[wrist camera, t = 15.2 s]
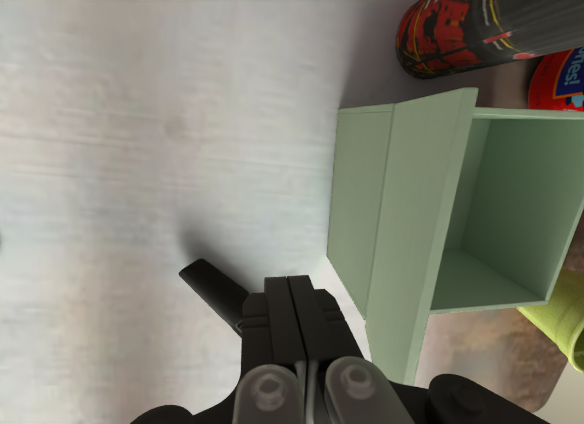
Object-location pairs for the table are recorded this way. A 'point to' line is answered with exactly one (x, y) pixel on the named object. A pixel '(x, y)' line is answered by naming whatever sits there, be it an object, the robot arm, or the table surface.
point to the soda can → (559, 82)
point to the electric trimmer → (217, 291)
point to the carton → (469, 206)
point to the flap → (415, 225)
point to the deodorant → (484, 33)
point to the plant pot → (563, 316)
